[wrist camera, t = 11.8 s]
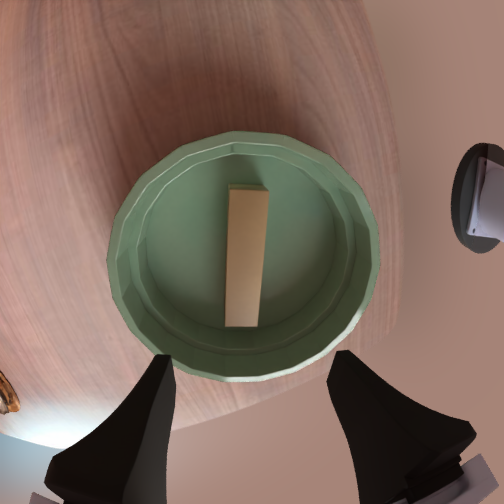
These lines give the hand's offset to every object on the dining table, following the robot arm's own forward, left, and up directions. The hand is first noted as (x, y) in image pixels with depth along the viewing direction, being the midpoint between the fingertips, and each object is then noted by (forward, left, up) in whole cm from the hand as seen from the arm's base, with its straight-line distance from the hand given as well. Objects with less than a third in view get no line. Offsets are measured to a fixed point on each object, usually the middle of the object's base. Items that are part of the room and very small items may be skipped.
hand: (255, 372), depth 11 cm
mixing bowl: (0, -2, -9) cm, 10 cm away
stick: (0, -2, -9) cm, 9 cm away
